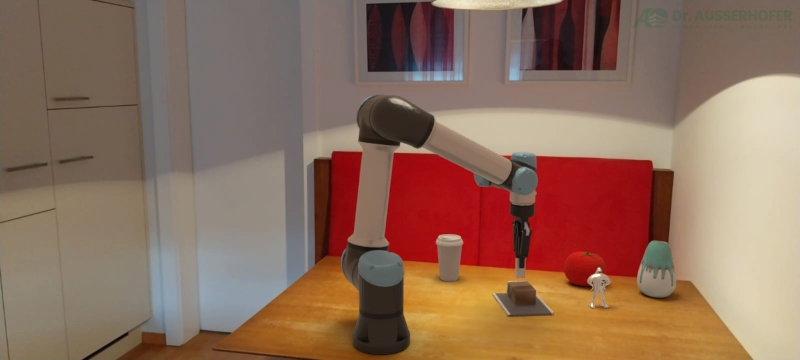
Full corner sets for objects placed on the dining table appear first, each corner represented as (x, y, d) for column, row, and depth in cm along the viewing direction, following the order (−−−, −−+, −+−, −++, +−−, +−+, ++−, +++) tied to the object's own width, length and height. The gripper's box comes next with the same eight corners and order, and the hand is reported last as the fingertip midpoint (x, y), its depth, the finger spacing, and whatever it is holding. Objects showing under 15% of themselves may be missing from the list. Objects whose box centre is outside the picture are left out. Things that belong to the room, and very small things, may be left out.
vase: (650, 286, 199) (654, 234, 196) (682, 296, 190) (686, 242, 187) (628, 292, 193) (632, 239, 190) (660, 303, 183) (664, 247, 181)
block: (536, 290, 180) (527, 280, 189) (515, 290, 179) (507, 281, 188) (535, 304, 181) (526, 294, 190) (514, 305, 180) (506, 294, 189)
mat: (554, 314, 174) (554, 312, 174) (507, 316, 173) (507, 314, 172) (534, 293, 192) (534, 291, 191) (492, 295, 190) (492, 293, 190)
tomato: (560, 277, 208) (561, 246, 206) (600, 278, 207) (602, 247, 205) (566, 289, 196) (568, 256, 194) (609, 290, 195) (611, 257, 193)
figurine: (588, 308, 179) (590, 270, 177) (583, 303, 183) (585, 266, 181) (611, 308, 179) (613, 270, 178) (606, 303, 184) (608, 265, 182)
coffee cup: (430, 276, 209) (430, 235, 207) (452, 272, 213) (453, 232, 211) (444, 284, 201) (445, 241, 198) (468, 280, 205) (468, 238, 203)
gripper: (541, 207, 174) (538, 283, 178) (527, 198, 187) (525, 270, 190) (516, 207, 173) (514, 284, 177) (504, 199, 186) (502, 271, 190)
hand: (520, 277), depth 184 cm, fingers closed
